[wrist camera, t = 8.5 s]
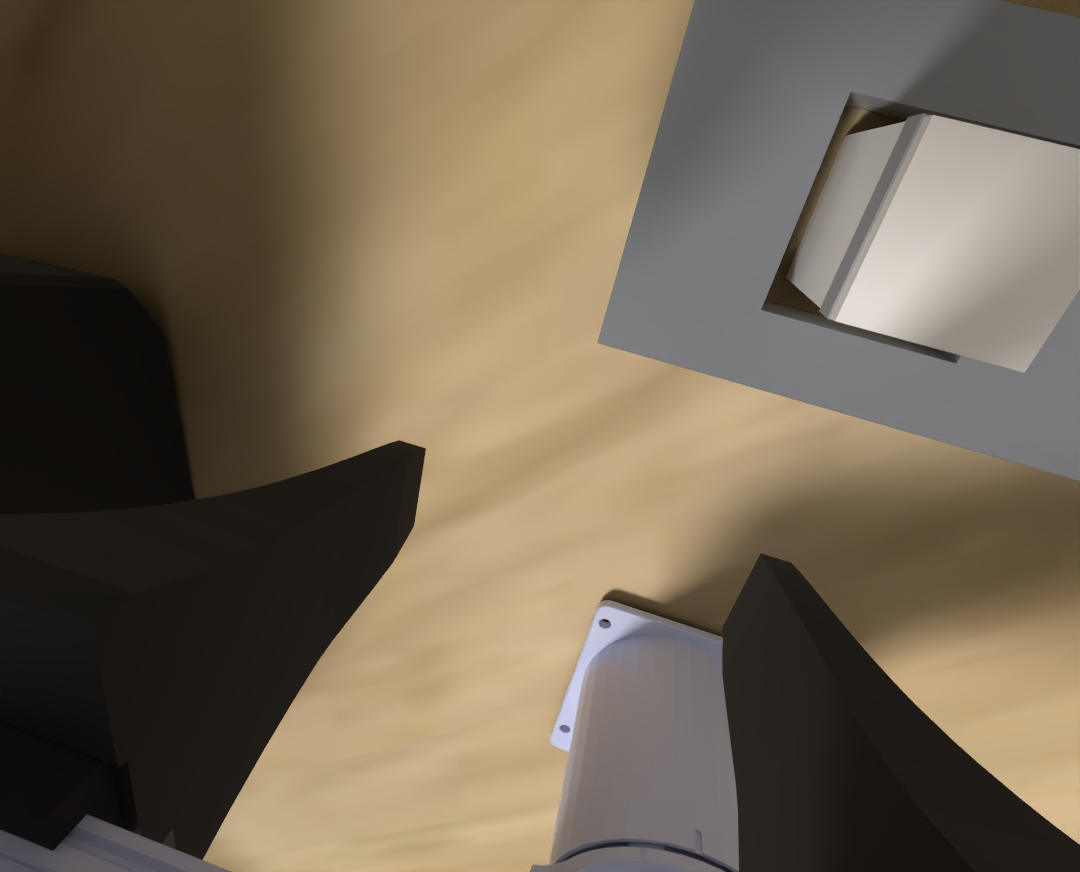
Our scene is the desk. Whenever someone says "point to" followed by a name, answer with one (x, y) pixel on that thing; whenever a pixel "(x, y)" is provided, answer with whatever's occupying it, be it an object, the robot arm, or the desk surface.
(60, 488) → the black hard case
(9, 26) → the desk surface
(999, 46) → the grey slab
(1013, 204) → the block
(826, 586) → the desk surface
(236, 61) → the desk surface
